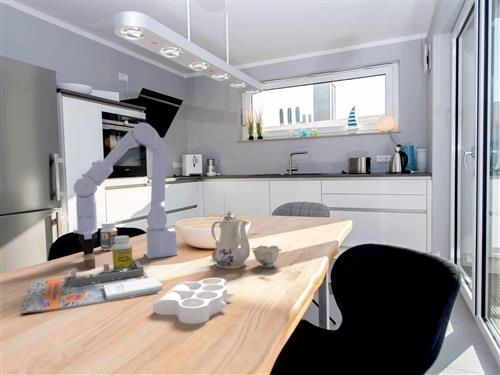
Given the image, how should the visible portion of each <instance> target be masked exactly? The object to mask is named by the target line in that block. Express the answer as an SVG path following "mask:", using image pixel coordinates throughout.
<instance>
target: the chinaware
mask: <svg viewBox="0 0 500 375" xmlns="http://www.w3.org/2000/svg"><path fill="white" fill-rule="evenodd" d="M226 214H227V215H225V216H224V217H223V219H219V220H217V221H214V222H213V224H211V225H212V226H211V229H210V230H211V235H212V238H213V239H214V241H215V243H214V244H215V246H216V247H215V248H214V250H213V252H212V253H211V254H212V255H211V257H212V259H213V261H214V262H215V263H216V267H218V268H220V269H227V270H228V269H231V270H232V269H238V268H243V267H244V266H245V262H246V261H247V260H248V258H249V257H250V251H252V252H253V256H254V257H255V260H256V261H257V263H259V264H260V267H261V268H264V269H267V268H272V267H273V266H274V264H275V262H276V261H277V260H278V257H279V253H280V252H282V248H279V246H278V245H271V246H267V245H258V246H257V247H251V249H250V242H249V239H248V234H247V231H246V225H247V223H248V222H247V221H243V222H241V224H240V221H241V219H239V218H236V217H235V215H233V214H232V212H231V211H230V210H228V212H227V213H226ZM217 224H219V225H218V227H219V228H220V234H219V239H218V238H217V237H216V234H215V227H216V225H217Z"/></svg>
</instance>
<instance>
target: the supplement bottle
mask: <svg viewBox="0 0 500 375" xmlns="http://www.w3.org/2000/svg"><path fill="white" fill-rule="evenodd" d="M114 242H115V243H116V244H114V245H113V247H112V250H111V251H112V264H113V266H112V267H113V271H115V272H120V271H123V269H127V271H129V270H133V268H134V264H133V260H134V259H133V245H132V243H131V242H130V236H129V235H117V237H114Z"/></svg>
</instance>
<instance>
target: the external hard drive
mask: <svg viewBox="0 0 500 375" xmlns="http://www.w3.org/2000/svg"><path fill="white" fill-rule="evenodd" d="M163 289H164V287H163V284H162V283H161V282H160V281H159V280H158V278H157V277H156V276H152V277H146V278H140V279H139V278H138V279H134V280H128V281H123V282H118V283H111V284H104V285H103V292H104V293H105V299H106V300H113V299H118V298H122V297H128V296H134V295H139V294H144V293H150V292H151V291H152V292H156V291H162V290H163Z"/></svg>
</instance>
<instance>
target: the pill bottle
mask: <svg viewBox="0 0 500 375" xmlns="http://www.w3.org/2000/svg"><path fill="white" fill-rule="evenodd" d="M99 233H100V234H99V235H100V250H101V251H103V250H104V252H106V251H107V250H110V251H112V247H113V245H114V244H116V243H115V242H114V237H117V236H118V229H117V228H116V222H115V221H106V222H102V223H101V229H100V231H99ZM107 252H108V251H107Z"/></svg>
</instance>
